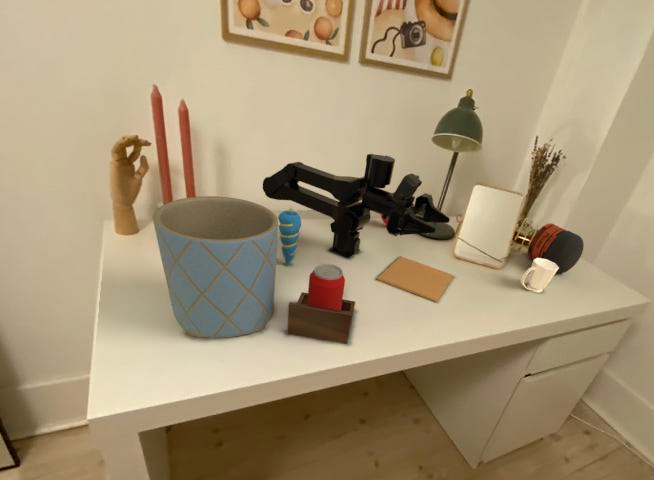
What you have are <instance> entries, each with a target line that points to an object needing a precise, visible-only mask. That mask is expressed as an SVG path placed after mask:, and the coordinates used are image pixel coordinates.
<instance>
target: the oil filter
mask: <svg viewBox="0 0 654 480" xmlns="http://www.w3.org/2000/svg"><path fill="white" fill-rule="evenodd" d="M584 247H585V243H584V240H583V237H581V236H580V235H579V234H577V233H574V232H573V231H570V230H566V229H564V228H562V227H560V226H558V225H556V224H554V223H550V222H549V223H546V224H544V225H543V226H542V227H540V228H539V229H538V230H537V231H536V232H535V234H534V235H533V237H532V238H531V240H530V242H529V244H528V248H527V257H528V259H530V260H532V261H533V260H534V259H536V258H542V259H547V260H549V261H551V262H554V263H555V264H556V265H557V266H558V267H559V269H558V270H557V272H556V273H555V275H561V274H565V273H566V272H568V271H570V270H571V269H572V268H573V267H574V266H576V264H577V263H578V262H579V260H580V259H581V258H582V254H583V252H584Z"/></svg>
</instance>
